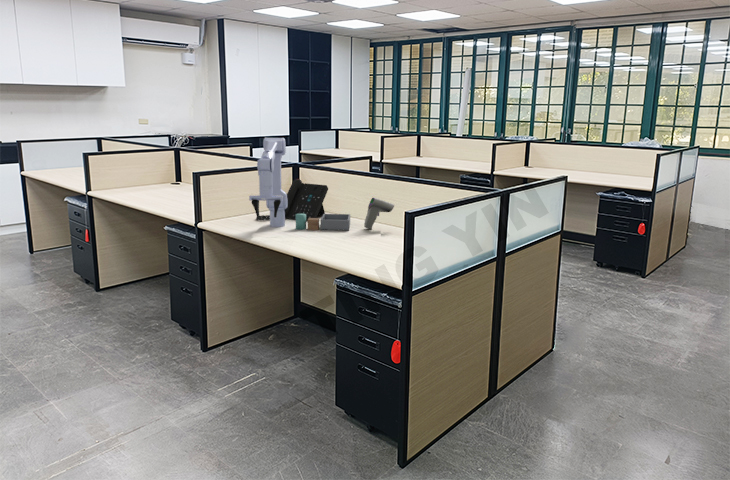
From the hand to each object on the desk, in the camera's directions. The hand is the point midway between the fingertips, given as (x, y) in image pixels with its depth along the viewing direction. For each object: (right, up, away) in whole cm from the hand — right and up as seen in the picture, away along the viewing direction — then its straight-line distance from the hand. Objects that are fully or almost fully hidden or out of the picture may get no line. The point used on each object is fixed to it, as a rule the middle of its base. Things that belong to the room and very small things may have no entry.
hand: (266, 216), depth 241 cm
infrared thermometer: (+48, -5, +25) cm, 54 cm away
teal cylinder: (+13, -5, +23) cm, 26 cm away
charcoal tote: (+29, -4, +28) cm, 41 cm away
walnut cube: (+19, -5, +22) cm, 29 cm away
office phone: (+4, +1, +51) cm, 51 cm away
